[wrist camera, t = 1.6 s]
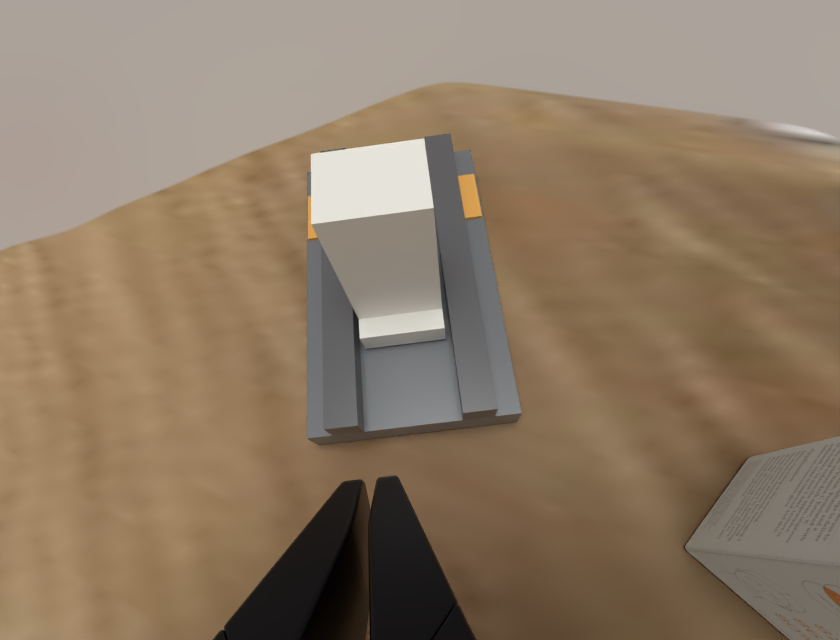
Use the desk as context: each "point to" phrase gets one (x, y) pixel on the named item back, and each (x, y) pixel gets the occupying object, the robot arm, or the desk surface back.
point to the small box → (781, 538)
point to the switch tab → (381, 238)
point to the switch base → (423, 361)
